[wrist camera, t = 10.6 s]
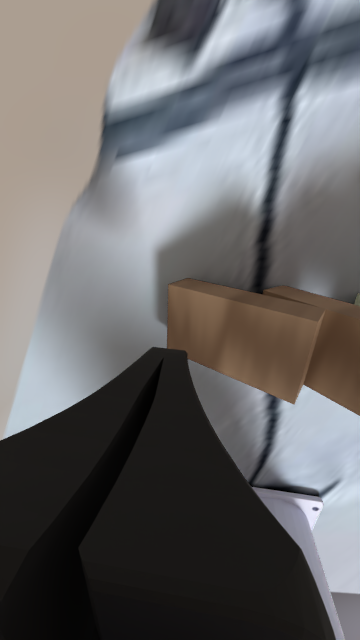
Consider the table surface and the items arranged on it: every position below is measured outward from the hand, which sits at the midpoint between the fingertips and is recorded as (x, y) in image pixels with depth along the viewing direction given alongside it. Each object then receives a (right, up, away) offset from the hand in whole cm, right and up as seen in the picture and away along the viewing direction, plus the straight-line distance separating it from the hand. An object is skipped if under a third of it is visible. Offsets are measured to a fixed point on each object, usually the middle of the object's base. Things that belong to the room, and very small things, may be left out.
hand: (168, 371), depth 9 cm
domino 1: (0, +2, +5) cm, 6 cm away
